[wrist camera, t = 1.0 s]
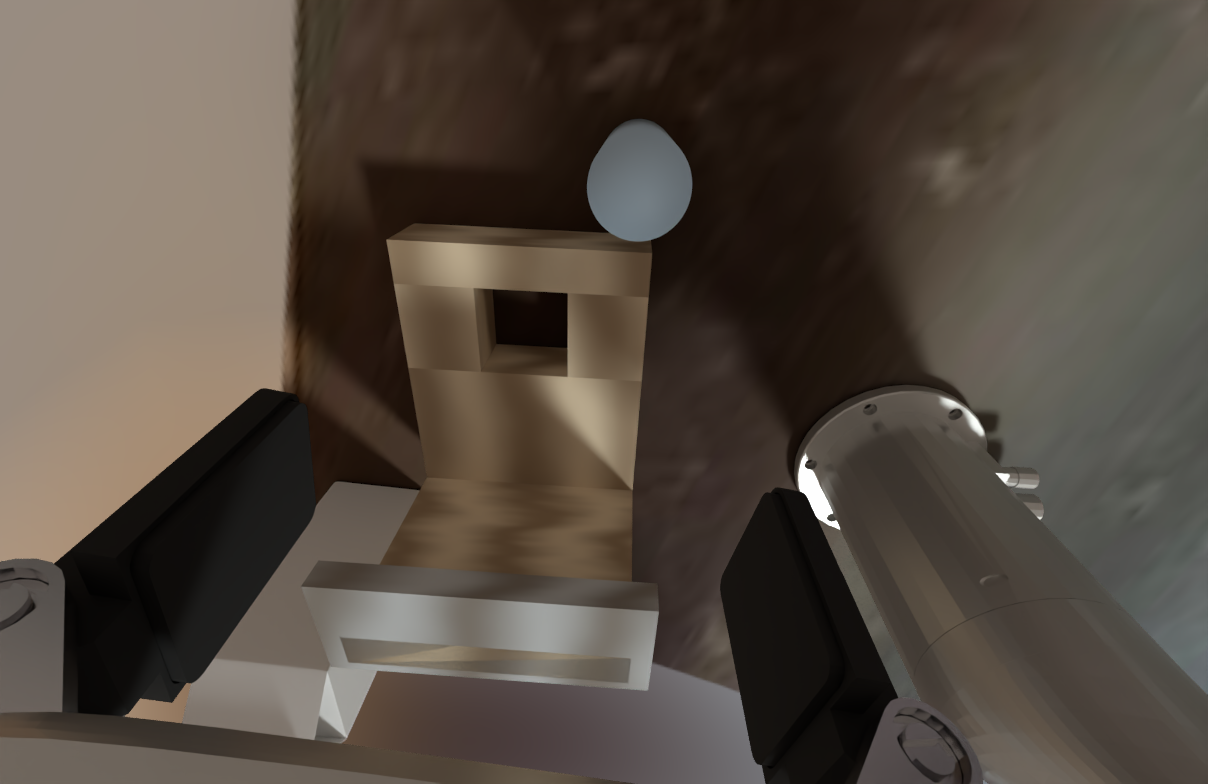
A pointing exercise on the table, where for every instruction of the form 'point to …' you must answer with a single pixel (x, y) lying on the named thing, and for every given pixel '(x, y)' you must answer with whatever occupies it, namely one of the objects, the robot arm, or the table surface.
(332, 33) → the table surface
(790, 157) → the table surface
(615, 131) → the peg
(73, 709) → the robot arm
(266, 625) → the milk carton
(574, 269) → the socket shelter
